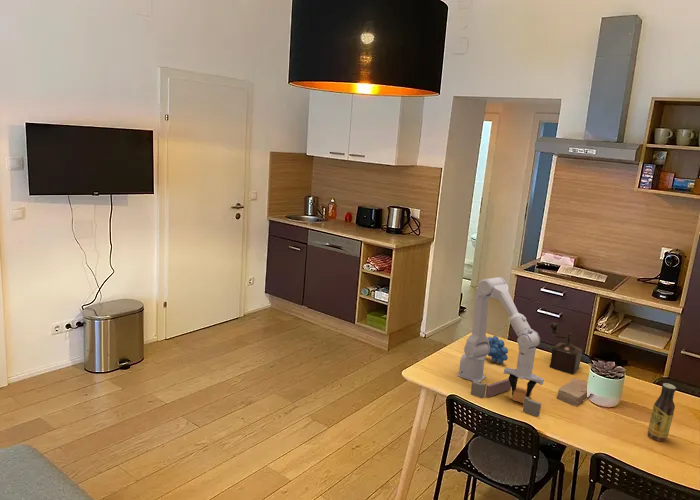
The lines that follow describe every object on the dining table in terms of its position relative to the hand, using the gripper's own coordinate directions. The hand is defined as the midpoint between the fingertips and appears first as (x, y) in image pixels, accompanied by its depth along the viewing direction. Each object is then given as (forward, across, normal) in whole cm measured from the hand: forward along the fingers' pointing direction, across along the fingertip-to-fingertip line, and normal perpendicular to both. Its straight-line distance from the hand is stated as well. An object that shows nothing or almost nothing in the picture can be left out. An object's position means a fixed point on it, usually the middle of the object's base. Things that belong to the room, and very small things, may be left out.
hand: (520, 396), depth 208 cm
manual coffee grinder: (+3, +3, +47) cm, 47 cm away
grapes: (+3, -21, +29) cm, 36 cm away
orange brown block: (+2, 0, +2) cm, 3 cm away
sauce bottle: (+3, +46, +7) cm, 47 cm away
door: (+2, -9, +1) cm, 10 cm away
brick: (+3, +16, +20) cm, 26 cm away
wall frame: (+2, -4, -6) cm, 8 cm away
